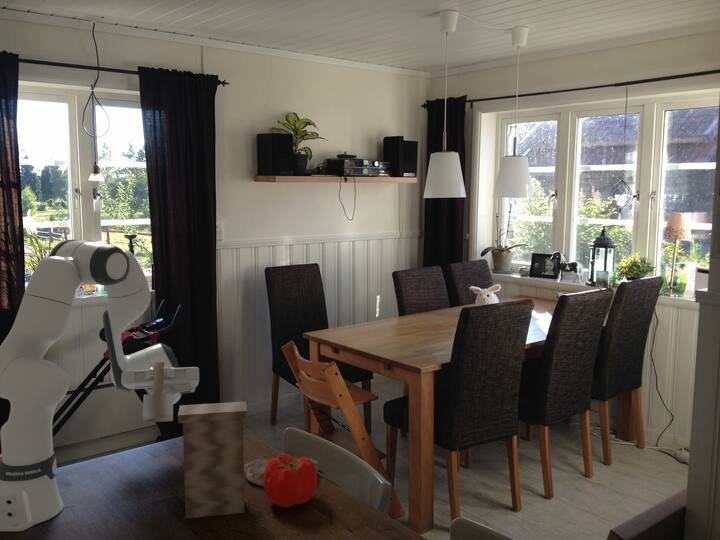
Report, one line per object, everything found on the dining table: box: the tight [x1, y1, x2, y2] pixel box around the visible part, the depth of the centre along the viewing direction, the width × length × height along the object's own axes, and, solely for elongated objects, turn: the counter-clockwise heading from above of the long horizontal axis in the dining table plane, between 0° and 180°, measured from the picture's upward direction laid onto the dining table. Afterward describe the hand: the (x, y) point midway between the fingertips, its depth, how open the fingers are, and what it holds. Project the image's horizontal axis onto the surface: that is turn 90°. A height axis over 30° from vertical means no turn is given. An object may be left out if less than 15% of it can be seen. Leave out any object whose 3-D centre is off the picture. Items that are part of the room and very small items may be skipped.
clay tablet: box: [244, 457, 320, 487], centre depth 181 cm, size 14×5×20 cm
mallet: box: [142, 362, 174, 424], centre depth 172 cm, size 7×16×4 cm
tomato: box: [263, 453, 318, 508], centre depth 167 cm, size 13×14×12 cm
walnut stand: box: [177, 401, 248, 519], centre depth 161 cm, size 16×7×26 cm, turn 102°
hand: (158, 370), depth 173 cm, fingers closed on mallet, 2 cm apart
